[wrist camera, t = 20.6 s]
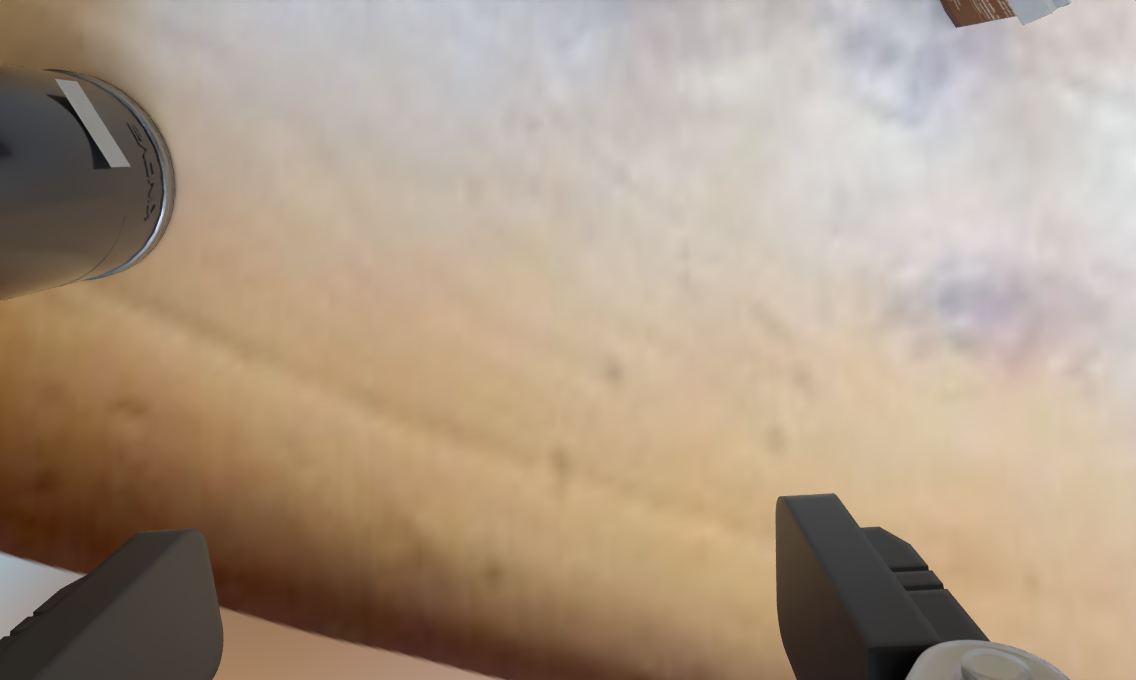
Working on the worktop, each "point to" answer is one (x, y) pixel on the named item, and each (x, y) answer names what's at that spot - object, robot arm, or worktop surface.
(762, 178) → the worktop surface
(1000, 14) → the food container
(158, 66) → the worktop surface
